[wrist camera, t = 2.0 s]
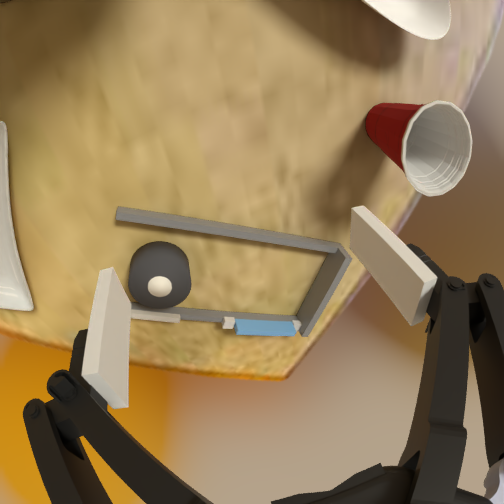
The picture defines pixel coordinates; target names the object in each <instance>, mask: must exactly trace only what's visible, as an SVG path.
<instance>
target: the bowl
mask: <svg viewBox="0 0 504 504" xmlns="http://www.w3.org/2000/svg"><path fill="white" fill-rule="evenodd" d="M361 1H362V2H364V3H365V4H366V5H368V6H369V7H370V8H372V9H373V10H375V11H376V12H377V13H379V14H380V15H382V16H383V17H385V18H386V19H388V20H389V21H391V22H392V23H394V24H395V25H397V26H399V27H400V28H402V29H404V30H405V31H407V32H409V33H411V34H413V35H416V36H418V37H421V38H424V39H429V40H436V39H440V38H442V37H443V36H445V35H446V33H447V32H448V30H449V27H450V23H451V8H450V2H449V0H361Z"/></svg>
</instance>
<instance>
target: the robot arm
mask: <svg viewBox="0 0 504 504" xmlns="http://www.w3.org/2000/svg"><path fill="white" fill-rule="evenodd" d="M8 1H11V0H0V3H4V2H8ZM350 249H351V250H352V252H353V253H354V254H355V255H356V256H357V258H358V259H359V260H360V261H361V263H362V264H363V265H364V266H365V268H366V269H367V270H368V271H369V272H370V274H371V275H372V276H373V277H374V279H375V280H376V281H377V282H378V284H379V285H380V286H381V288H382V289H383V290H384V291H385V293H386V294H387V295H388V296H389V298H390V299H391V300H392V302H393V303H394V304H395V306H396V307H397V308H398V309H399V311H400V312H401V314H402V315H403V316H404V318H405V319H406V320H407V322H408V323H409V324H410V325H411V326H413V325H415V324H417V323H419V322H422V321H423V320H424V317H425V314H426V312H427V313H428V315H429V316H430V317H431V318H430V320H429V323H428V325H427V329H426V331H425V332H427V331H428V335H427V343H426V351H425V358H424V364H423V371H422V377H421V383H420V388H419V393H418V398H417V404H416V408H415V412H414V417H413V421H412V425H411V429H410V434H409V437H408V441H407V445H406V447H405V450H404V452H403V454H402V456H401V458H400V461H399V464H398V466H384V467H382V465H381V463H379V464H377V465H375V466H373V467H370V468H368V469H366V470H363V471H361V472H359V473H356V474H354V475H353V476H352V477H350V478H349V479H347V480H346V481H344V482H343V483H341V484H340V485H338V486H337V487H335V488H334V489H333V490H330V491H325V492H315V493H303V494H297V495H293V496H290V497H286V498H283V499H279V500H275V501H271V504H504V290H503V287H502V285H501V283H500V281H499V280H498V279H497V278H496V277H495V276H493V275H491V274H487V273H486V274H482V275H480V276H479V279H478V281H477V282H474V283H465V282H464V281H463V280H461V279H460V278H457V277H451V276H450V277H448V276H447V275H446V274H445V273H444V272H443V271H442V270H441V269H440V268H439V267H438V266H437V265H436V263H435V262H434V261H432V260H431V259H430V258H429V257H428V256H426V254H425V253H424V252H423V251H422V250H421V249H420V248H419V247H417V246H415V245H413V244H408V245H405V244H404V243H403V242H402V241H401V240H400V239H399V238H398V237H397V236H396V235H395V234H394V233H393V232H392V231H391V230H390V229H389V228H387V227H386V226H385V225H384V224H383V223H382V222H381V221H380V220H379V219H378V218H377V217H376V216H375V215H373V214H372V213H371V212H370V211H369V210H368V209H367V208H366V207H365V206H363V205H362V206H358V207H353V208H351V234H350ZM130 319H131V303H130V301H129V299H128V297H127V295H126V293H125V291H124V289H123V287H122V285H121V283H120V281H119V279H118V276H117V274H116V272H115V270H114V268H113V267H111V268H107V269H103V270H100V273H99V278H98V282H97V287H96V291H95V296H94V301H93V306H92V311H91V316H90V322H89V327H88V329H85V330H80V331H79V333H78V334H77V336H76V338H75V340H74V345H73V350H72V358H71V362H70V368H69V371H67V370H58V371H56V372H55V373H53V374H52V376H51V377H50V378H49V380H48V382H47V391H48V393H49V394H50V395H51V396H52V397H53V398H54V399H53V400H50V401H48V402H46V403H44V402H43V401H41V400H40V399H32V400H30V401H29V402H28V403H27V404H26V406H25V407H24V411H23V418H24V423H25V426H26V430H27V434H28V438H29V441H30V444H31V448H32V451H33V454H34V457H35V460H36V463H37V466H38V469H39V472H40V474H41V477H42V480H43V483H44V486H45V488H46V491H47V493H48V496H49V498H50V500H51V503H52V504H113V503H112V502H111V500H110V498H109V497H108V495H107V493H106V491H105V489H104V488H103V486H102V484H101V482H100V480H99V478H98V476H97V474H96V472H95V470H94V468H93V466H92V465H91V462H90V460H89V458H88V456H87V454H86V452H85V449H84V447H83V445H82V443H81V440H80V438H79V437H81V436H84V437H85V438H86V439H87V441H88V442H89V443H90V444H91V445H92V447H93V448H94V449H95V450H96V451H97V452H98V454H99V455H100V456H101V457H102V458H103V459H104V461H105V462H106V463H107V464H108V465H109V466H110V467H111V468H112V470H113V471H114V472H115V473H116V474H117V475H118V476H119V477H120V478H121V479H122V480H123V481H124V482H125V483H126V484H127V485H128V486H129V487H130V488H131V489H132V490H133V491H134V492H135V493H136V494H137V495H138V496H139V497H140V498H141V499H142V500H143V501H144V502H145V503H146V504H213V503H212V502H211V501H209V500H207V499H206V498H205V497H204V496H202V495H201V494H200V493H198V492H197V491H196V490H194V489H193V488H192V487H190V486H189V485H188V484H186V483H185V482H184V481H182V480H181V479H180V478H179V477H178V476H176V475H175V474H174V473H173V472H172V471H170V470H169V469H168V468H167V467H166V466H164V465H163V464H162V463H161V462H160V461H159V460H157V459H156V458H155V457H154V456H153V455H152V454H151V453H150V452H149V451H147V450H146V449H145V448H144V447H143V446H142V445H141V444H140V443H139V442H138V441H137V440H135V438H133V437H132V436H131V434H129V433H128V432H127V431H126V430H125V429H124V428H123V427H122V426H121V425H120V423H119V422H117V420H115V418H114V417H113V416H112V415H111V414H110V413H109V412H108V411H107V403H108V404H109V405H110V406H111V407H112V408H113V409H117V408H124V407H129V401H128V376H129V375H128V374H129V372H128V371H129V339H130ZM469 345H470V349H471V354H472V359H473V363H474V368H475V373H476V379H477V384H478V390H479V396H480V402H481V409H482V417H483V426H484V435H485V446H486V454H487V459H488V464H489V468H490V469H489V471H488V473H487V476H486V478H485V480H484V487H485V488H486V494H485V496H484V497H483V496H480V495H477V494H474V493H471V492H468V491H465V490H462V489H460V488H457V484H458V480H459V476H460V471H461V467H462V462H463V456H464V451H465V445H466V439H467V430H466V429H465V428H464V427H463V419H464V411H465V403H466V402H465V401H466V391H467V379H468V362H469Z"/></svg>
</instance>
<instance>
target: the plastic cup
mask: <svg viewBox="0 0 504 504" xmlns="http://www.w3.org/2000/svg"><path fill="white" fill-rule="evenodd" d="M366 131H367V134H368V136H369V137H370V138H371V140H372V141H373V142H374V143H375V144H376V145H377V146H378V147H380V148H381V150H382V151H383V152H384V153H385V154H386V155H387V156H388V157H389V158H390V159H391V160H392V161H393V162H395V163H396V164H397V165H398V166H399V167H400V168H401V169H402V170H403V172H404V173H405V176H406V178H407V179H408V180H409V182H410V183H411V184H412V186H413V187H414V188H415V190H416V191H418V192H420V193H422V194H425V195H427V196H435V195H442V194H444V193H445V192H447V191H449V190H450V189H452V188H454V187H455V186H456V184H457V183H458V181H459V180H460V179H461V178H462V177H463V175H464V173H465V171H466V169H467V166H468V163H469V161H470V158H471V150H472V136H471V130H470V125H469V123H468V121H467V119H466V117H465V115H464V113H463V112H462V110H461V109H459V108H458V107H457V106H455V105H454V104H453V103H451V102H448V101H439V100H435V101H433V102H430V103H428V104H425V105H423V104H421V105H415V104H401V103H380V104H378V105H376V106H374V107H373V108H372V109H371V110H370V111H369V113H368V115H367V118H366Z"/></svg>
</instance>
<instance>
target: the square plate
mask: <svg viewBox="0 0 504 504" xmlns="http://www.w3.org/2000/svg"><path fill="white" fill-rule="evenodd" d="M0 308H2V309H11V310H21V311H32V310H33V309H34V306H33V301H32V297H31V294H30V291H29V288H28V285H27V282H26V279H25V275H24V272H23V269H22V266H21V261H20V258H19V254H18V250H17V246H16V241H15V235H14V229H13V222H12V215H11V206H10V194H9V177H8V137H7V127H6V124H5V123H4V122H3V121H0Z"/></svg>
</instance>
